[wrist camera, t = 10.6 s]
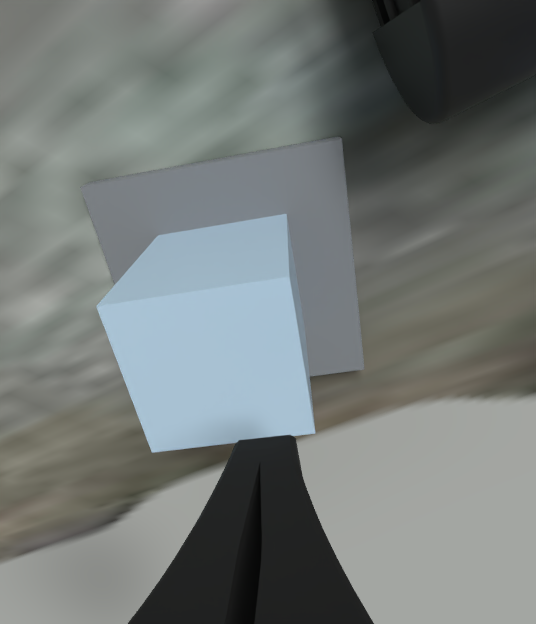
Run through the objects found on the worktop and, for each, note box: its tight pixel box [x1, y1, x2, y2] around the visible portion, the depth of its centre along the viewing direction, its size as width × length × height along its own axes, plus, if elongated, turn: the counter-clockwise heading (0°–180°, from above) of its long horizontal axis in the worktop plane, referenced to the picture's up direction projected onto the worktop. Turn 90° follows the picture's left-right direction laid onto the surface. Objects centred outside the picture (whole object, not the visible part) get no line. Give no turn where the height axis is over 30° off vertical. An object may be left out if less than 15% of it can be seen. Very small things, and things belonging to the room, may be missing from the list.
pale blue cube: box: [96, 214, 315, 453], centre depth 16 cm, size 5×5×7 cm
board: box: [80, 136, 364, 376], centre depth 19 cm, size 10×10×1 cm
